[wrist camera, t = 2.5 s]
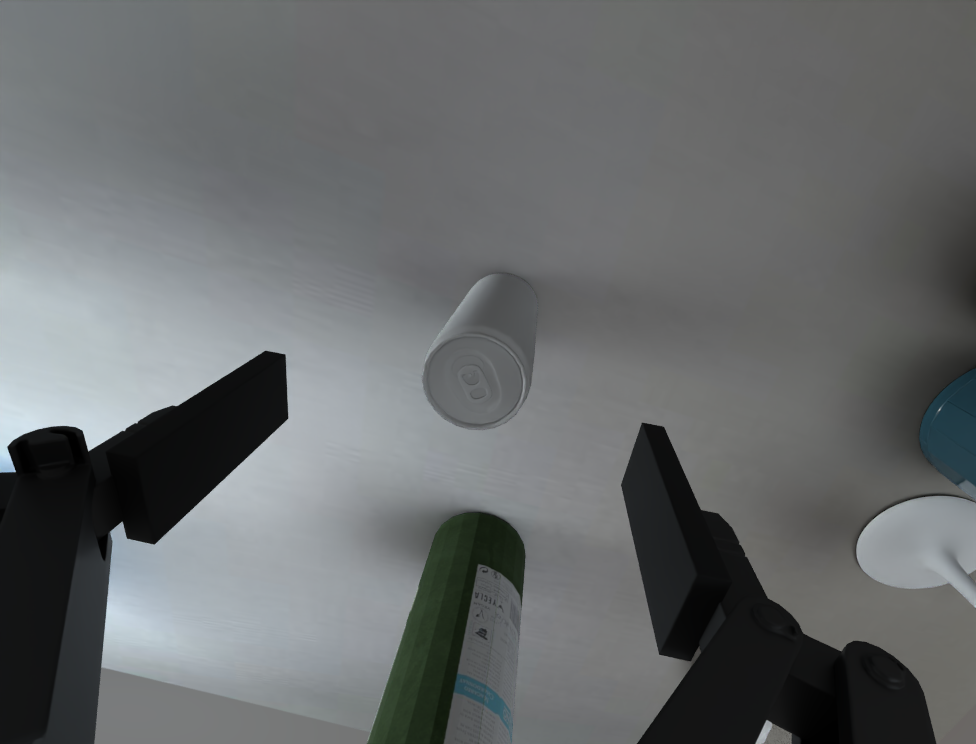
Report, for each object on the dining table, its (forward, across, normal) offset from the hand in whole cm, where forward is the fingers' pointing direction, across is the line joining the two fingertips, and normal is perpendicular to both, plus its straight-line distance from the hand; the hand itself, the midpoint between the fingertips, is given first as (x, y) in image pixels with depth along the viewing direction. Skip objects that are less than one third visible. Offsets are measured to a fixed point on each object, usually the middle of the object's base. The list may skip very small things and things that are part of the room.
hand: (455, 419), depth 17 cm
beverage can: (+15, 0, 0) cm, 15 cm away
